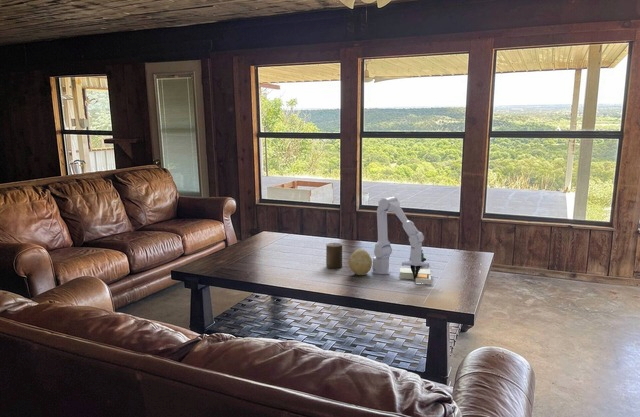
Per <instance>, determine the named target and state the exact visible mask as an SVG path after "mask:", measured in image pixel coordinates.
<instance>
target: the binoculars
mask: <svg viewBox="0 0 640 417" xmlns="http://www.w3.org/2000/svg"><path fill="white" fill-rule="evenodd" d="M423 252H424V251H423V249H422V251H421V262H426V261H427V258H425V256H424V255H425V254H424V253H423ZM410 255H411V252H410V253H409V256H410ZM420 267H421V268H422V267H423V266H420Z"/></svg>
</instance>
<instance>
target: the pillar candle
mask: <svg viewBox="0 0 640 417" xmlns="http://www.w3.org/2000/svg"><path fill="white" fill-rule="evenodd" d="M325 247H326V248H325V250H326V258H325V259H326V260H325V261H326V263H325V265H326V266H325V267H326V268H328V269H330V270H331V269H332V270H337V269H338V270H339V269H342V268H343V243H339V242H329V243H326V245H325Z"/></svg>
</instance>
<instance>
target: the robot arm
mask: <svg viewBox="0 0 640 417" xmlns="http://www.w3.org/2000/svg"><path fill="white" fill-rule="evenodd" d="M389 212H391V213H394V214H395V216H396V217H397V218H398V219H399V220H400V222H401V224H402V228H403V231H405V233H406V234H407V236H408V241H409V243H410V253H411V255H410V254H409V260H406V261H405V260H402V261H401V266H408V267H409V266H410V268H411V270H412V273H413V276H414V279H413V280H416V278H417V274H418V272H419V270H420V269H422V267H424V268H425V267H426V268H430V262H426V261H424V262H421V251H422V250H423V248H422V247H423V244H422V243H423V241H424V240H425V236H424V233H423V232H422V231H420V230H418V228H417V227H416V226H415V223H414V221H412V220H409V218H407V216H406V214H405V212H404V210H403V208H402V207H401V203H400V201H399V200H398V198H397V197H395V196H391V197H383V198H381V199H380V200H378V206H377V209H376V221H377V222H376V223H377V224H376V225H377V242H376V243H375V245H374V249H373V254H374V256H372V267H371V269H372V271H371V272H372V274H379V275H390V271H391V269H390V257H391V255H392V253H393V249H392V245H391V242H390V241H389V237H388V234H389V233H388V213H389ZM420 266H422V267H420ZM415 268H416V272H415Z"/></svg>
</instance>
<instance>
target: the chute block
mask: <svg viewBox="0 0 640 417" xmlns="http://www.w3.org/2000/svg"><path fill="white" fill-rule="evenodd" d="M417 278H425V279H427V274H418V276H417Z"/></svg>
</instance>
